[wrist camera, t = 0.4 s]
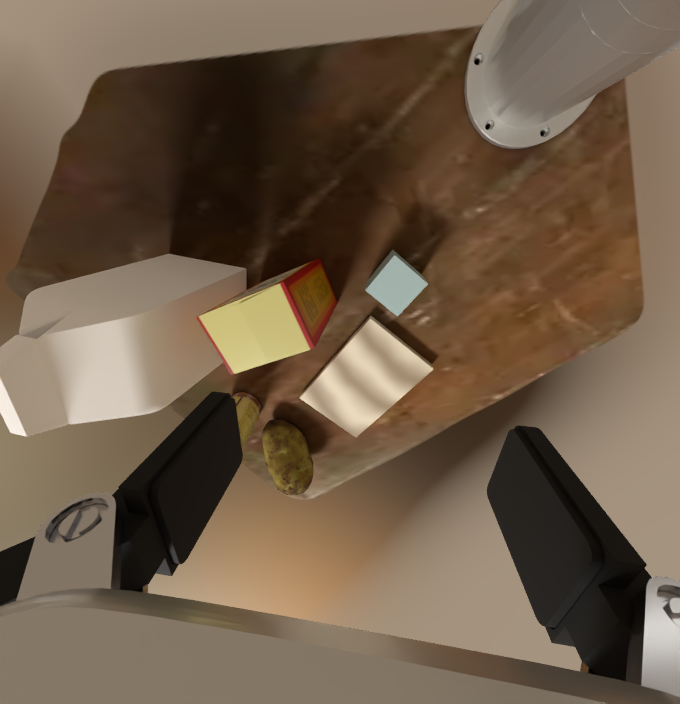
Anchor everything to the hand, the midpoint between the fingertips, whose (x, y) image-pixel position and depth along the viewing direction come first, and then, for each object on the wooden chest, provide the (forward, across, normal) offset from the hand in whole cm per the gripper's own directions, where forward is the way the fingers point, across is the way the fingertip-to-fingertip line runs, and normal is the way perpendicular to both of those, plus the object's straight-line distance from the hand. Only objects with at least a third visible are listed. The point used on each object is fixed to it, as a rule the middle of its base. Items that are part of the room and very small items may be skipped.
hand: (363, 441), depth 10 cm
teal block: (+31, -3, 0) cm, 31 cm away
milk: (+32, +24, +5) cm, 40 cm away
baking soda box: (+32, +10, +3) cm, 33 cm away
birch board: (+32, 0, +16) cm, 35 cm away
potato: (+32, +12, +31) cm, 46 cm away
